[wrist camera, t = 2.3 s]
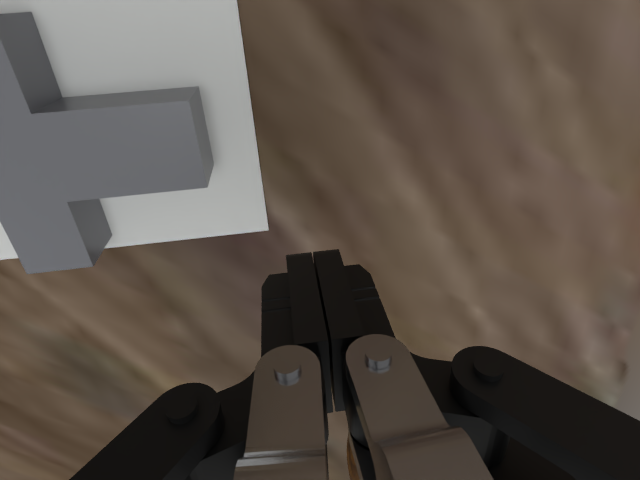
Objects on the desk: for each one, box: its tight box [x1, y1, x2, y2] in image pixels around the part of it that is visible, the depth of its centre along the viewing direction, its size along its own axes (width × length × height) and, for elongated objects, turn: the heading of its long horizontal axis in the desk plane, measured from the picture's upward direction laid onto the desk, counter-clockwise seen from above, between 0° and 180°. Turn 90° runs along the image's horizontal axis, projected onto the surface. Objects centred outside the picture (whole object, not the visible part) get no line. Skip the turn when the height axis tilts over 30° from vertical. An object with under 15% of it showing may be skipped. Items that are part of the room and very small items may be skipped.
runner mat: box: [0, 0, 269, 260], centre depth 26 cm, size 17×29×1 cm, turn 94°
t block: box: [0, 12, 214, 274], centre depth 25 cm, size 14×12×4 cm
